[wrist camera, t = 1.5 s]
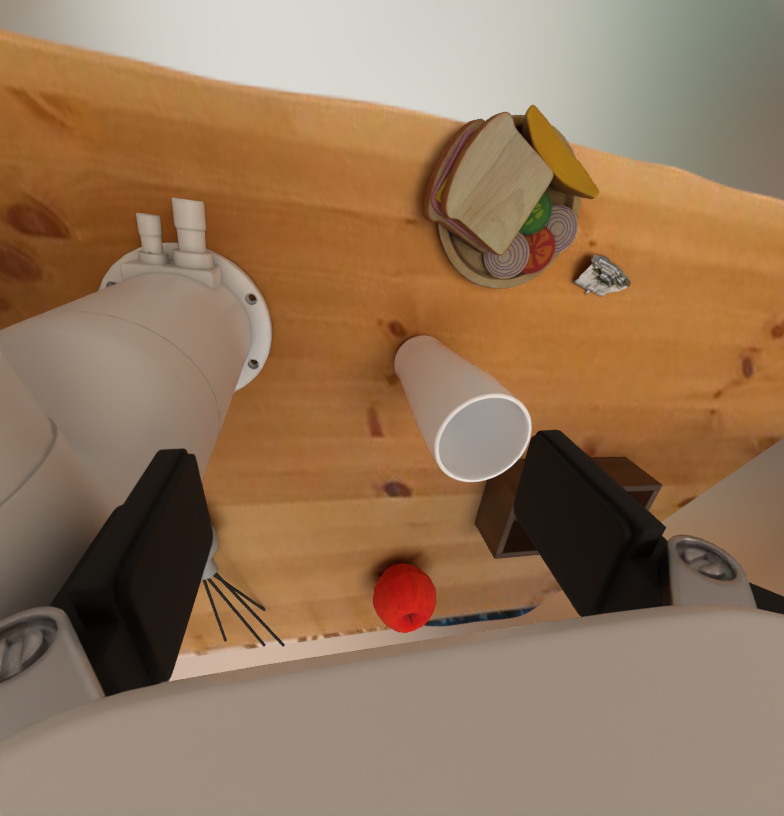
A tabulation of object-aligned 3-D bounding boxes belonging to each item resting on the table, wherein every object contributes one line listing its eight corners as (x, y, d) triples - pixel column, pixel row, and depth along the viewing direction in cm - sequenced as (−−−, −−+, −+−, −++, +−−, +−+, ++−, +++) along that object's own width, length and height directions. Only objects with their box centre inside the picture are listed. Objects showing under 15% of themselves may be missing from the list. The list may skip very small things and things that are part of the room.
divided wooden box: (493, 459, 45) (517, 490, 40) (626, 457, 50) (662, 484, 45) (474, 523, 49) (494, 559, 44) (597, 515, 54) (628, 546, 49)
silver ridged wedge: (589, 245, 34) (561, 266, 37) (595, 266, 34) (566, 285, 36) (626, 267, 37) (598, 285, 40) (632, 287, 36) (603, 303, 39)
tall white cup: (407, 313, 34) (473, 375, 21) (465, 344, 37) (554, 416, 24) (373, 375, 36) (413, 466, 23) (429, 400, 39) (493, 495, 26)
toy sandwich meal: (499, 313, 36) (524, 326, 32) (393, 211, 30) (407, 209, 26) (598, 200, 33) (640, 197, 29) (502, 63, 27) (537, 35, 23)
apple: (423, 587, 53) (440, 639, 47) (368, 596, 51) (377, 651, 45) (428, 546, 49) (447, 597, 43) (369, 555, 48) (379, 608, 41)
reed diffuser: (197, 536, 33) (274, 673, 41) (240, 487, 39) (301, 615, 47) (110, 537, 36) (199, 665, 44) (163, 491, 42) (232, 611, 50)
